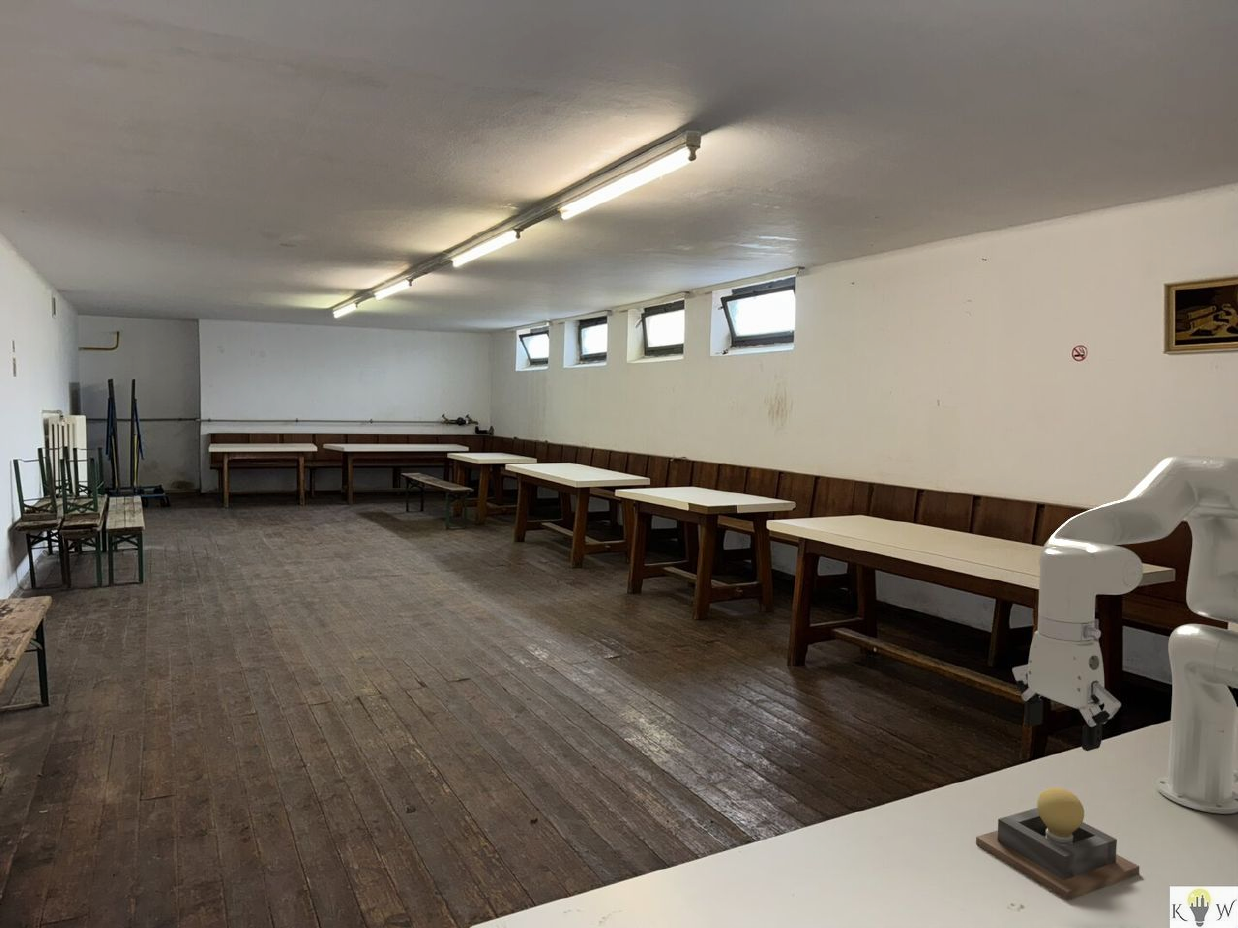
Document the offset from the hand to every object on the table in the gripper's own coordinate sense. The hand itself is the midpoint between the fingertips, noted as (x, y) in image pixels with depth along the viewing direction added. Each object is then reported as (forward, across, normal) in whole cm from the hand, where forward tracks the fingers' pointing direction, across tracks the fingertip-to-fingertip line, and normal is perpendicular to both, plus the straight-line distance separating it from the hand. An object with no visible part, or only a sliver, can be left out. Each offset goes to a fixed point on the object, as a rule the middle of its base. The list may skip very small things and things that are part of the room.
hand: (1061, 736), depth 122 cm
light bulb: (+19, 0, 0) cm, 19 cm away
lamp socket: (+20, 0, 0) cm, 20 cm away
